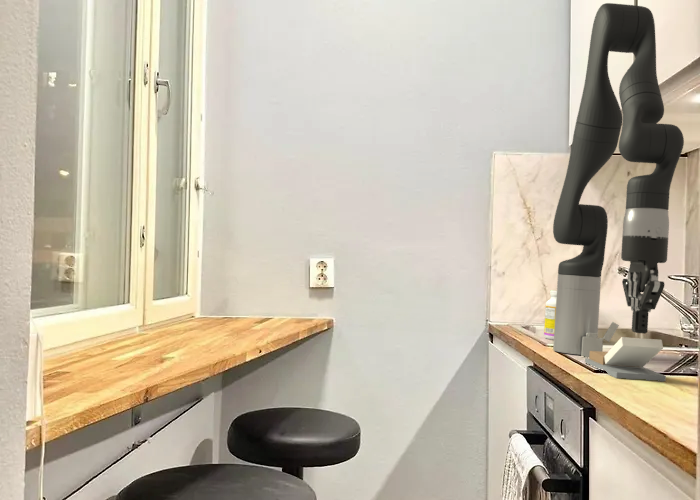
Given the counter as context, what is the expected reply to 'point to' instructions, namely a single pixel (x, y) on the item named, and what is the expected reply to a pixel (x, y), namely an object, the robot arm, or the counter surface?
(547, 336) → the supplement bottle
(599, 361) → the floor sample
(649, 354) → the board
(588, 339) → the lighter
